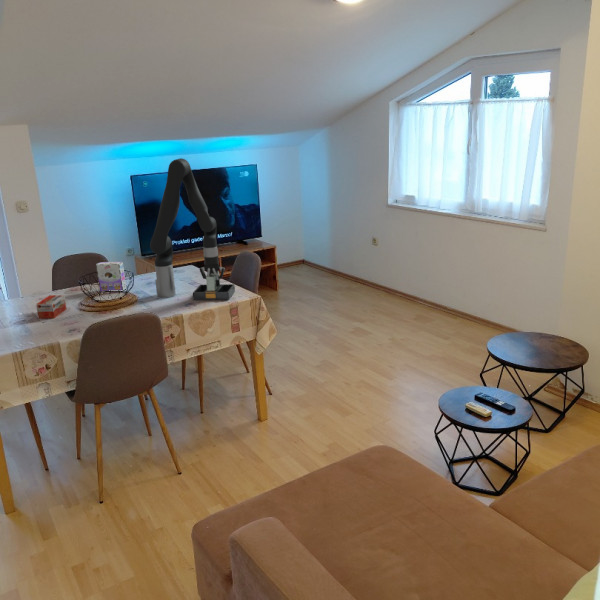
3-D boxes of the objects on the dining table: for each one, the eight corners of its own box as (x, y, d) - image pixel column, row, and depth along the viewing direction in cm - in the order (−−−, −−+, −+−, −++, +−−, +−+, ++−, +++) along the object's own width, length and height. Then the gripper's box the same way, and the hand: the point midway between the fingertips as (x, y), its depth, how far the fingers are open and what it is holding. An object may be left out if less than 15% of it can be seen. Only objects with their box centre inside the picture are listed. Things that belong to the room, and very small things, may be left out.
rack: (193, 300, 307) (192, 292, 305) (201, 291, 321) (200, 284, 320) (228, 300, 305) (228, 292, 303) (234, 291, 319) (234, 283, 318)
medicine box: (54, 319, 287) (51, 303, 284) (38, 319, 287) (35, 304, 285) (67, 309, 301) (64, 294, 299) (52, 309, 302) (49, 295, 299)
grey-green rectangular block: (207, 293, 307) (206, 277, 304) (213, 287, 318) (211, 271, 315) (214, 293, 306) (213, 277, 303) (220, 287, 318) (218, 271, 315)
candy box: (126, 289, 333) (123, 261, 328) (123, 292, 327) (119, 263, 322) (103, 289, 334) (99, 261, 329) (99, 292, 329) (95, 264, 324)
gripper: (196, 256, 303) (198, 288, 309) (222, 256, 302) (225, 288, 307) (199, 253, 310) (202, 284, 316) (225, 253, 309) (228, 284, 314)
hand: (213, 286), depth 311 cm, fingers closed on grey-green rectangular block, 4 cm apart
